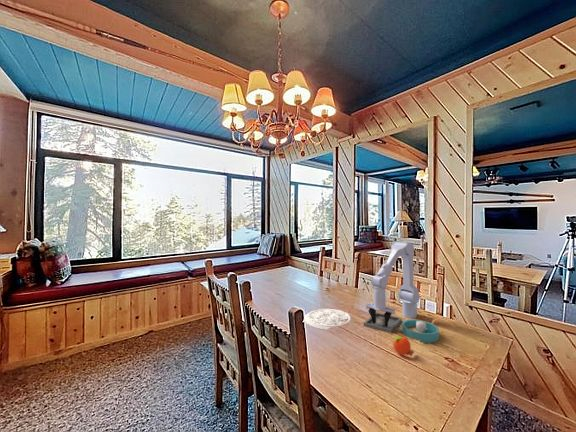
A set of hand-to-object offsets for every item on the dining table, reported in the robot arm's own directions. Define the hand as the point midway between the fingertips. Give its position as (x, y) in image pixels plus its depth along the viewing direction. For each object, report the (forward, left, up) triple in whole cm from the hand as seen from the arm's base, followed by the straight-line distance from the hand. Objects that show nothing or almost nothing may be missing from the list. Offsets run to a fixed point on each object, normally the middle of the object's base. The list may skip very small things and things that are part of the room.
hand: (380, 324), depth 135 cm
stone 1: (0, 0, -1) cm, 1 cm away
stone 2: (-7, +18, -1) cm, 19 cm away
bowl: (-4, +18, -2) cm, 19 cm away
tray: (-4, 0, -2) cm, 4 cm away
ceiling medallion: (+6, -28, -2) cm, 28 cm away
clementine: (+19, +16, -2) cm, 25 cm away
